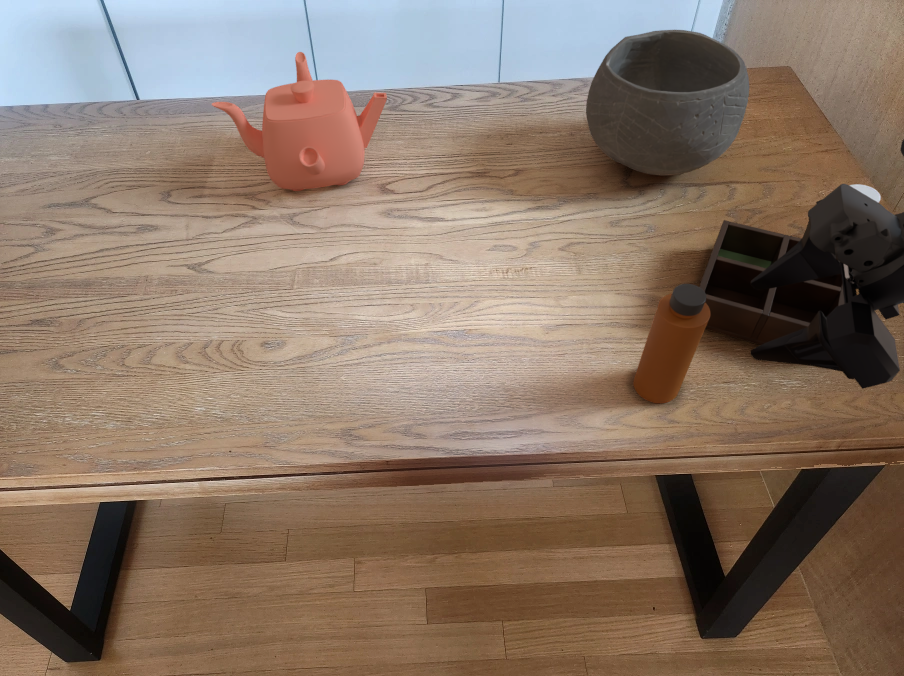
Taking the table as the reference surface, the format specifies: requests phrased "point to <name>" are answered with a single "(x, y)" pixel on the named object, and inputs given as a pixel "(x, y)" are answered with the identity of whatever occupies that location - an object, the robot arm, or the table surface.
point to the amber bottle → (671, 343)
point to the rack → (767, 309)
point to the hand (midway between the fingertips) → (752, 319)
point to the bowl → (667, 101)
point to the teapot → (309, 131)
